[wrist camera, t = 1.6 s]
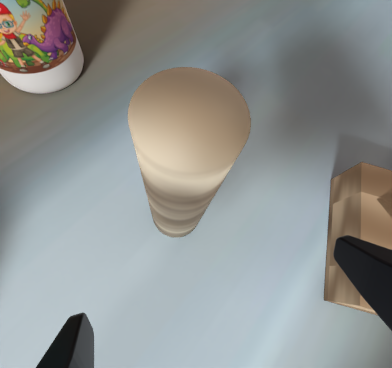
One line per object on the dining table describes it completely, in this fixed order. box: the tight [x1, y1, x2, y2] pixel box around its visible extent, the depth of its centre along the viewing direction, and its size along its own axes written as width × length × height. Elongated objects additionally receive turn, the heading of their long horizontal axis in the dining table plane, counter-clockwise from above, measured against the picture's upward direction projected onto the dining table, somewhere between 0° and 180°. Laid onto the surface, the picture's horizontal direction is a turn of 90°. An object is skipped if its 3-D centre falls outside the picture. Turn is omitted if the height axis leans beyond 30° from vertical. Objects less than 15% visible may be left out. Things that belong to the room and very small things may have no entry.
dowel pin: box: [128, 67, 251, 237], centre depth 14 cm, size 4×4×14 cm
